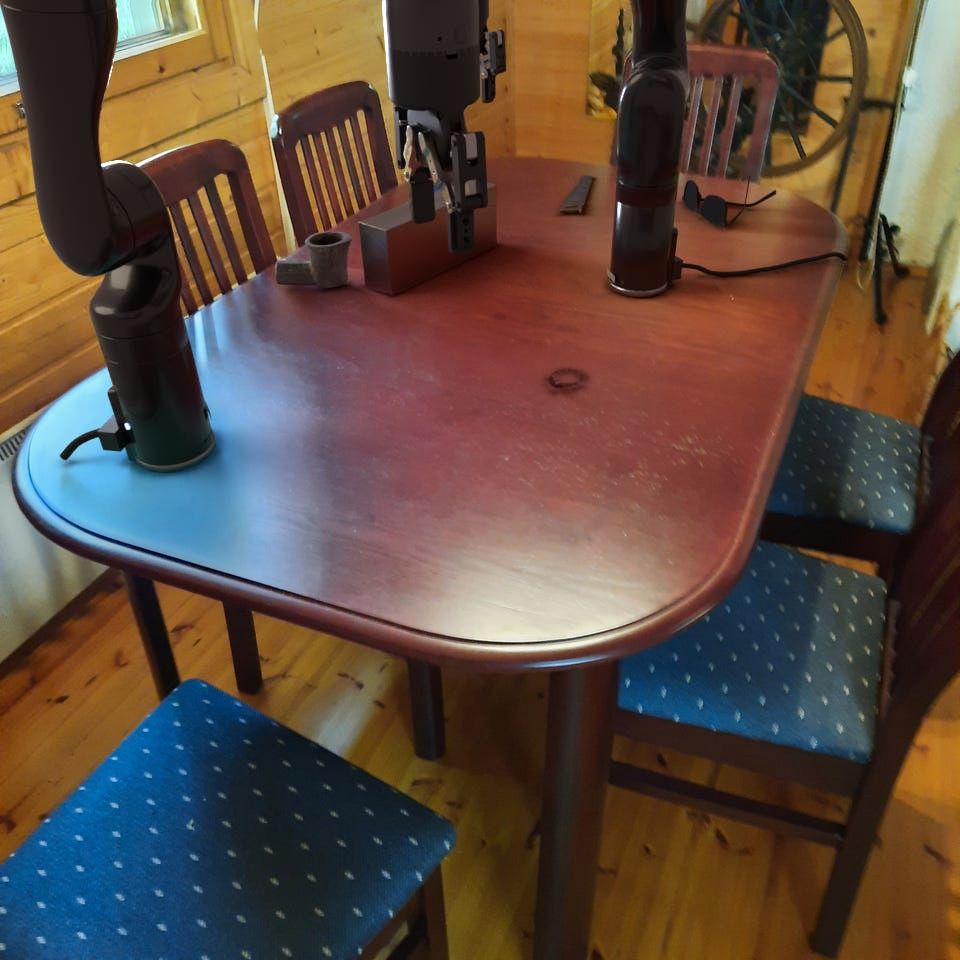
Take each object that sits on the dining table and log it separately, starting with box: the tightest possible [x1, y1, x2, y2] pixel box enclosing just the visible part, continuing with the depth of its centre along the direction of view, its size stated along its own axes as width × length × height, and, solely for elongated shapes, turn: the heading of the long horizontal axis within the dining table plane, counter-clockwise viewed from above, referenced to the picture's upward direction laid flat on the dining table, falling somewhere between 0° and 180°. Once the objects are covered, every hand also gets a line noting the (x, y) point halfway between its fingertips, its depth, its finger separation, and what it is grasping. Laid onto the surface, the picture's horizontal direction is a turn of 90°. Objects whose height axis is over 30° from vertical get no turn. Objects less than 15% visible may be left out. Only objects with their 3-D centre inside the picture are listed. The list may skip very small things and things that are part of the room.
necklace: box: [548, 368, 584, 389], centre depth 114 cm, size 4×6×1 cm, turn 151°
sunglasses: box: [681, 175, 777, 228], centre depth 163 cm, size 17×14×5 cm
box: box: [358, 180, 498, 297], centre depth 144 cm, size 27×6×11 cm, turn 140°
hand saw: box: [558, 175, 594, 215], centre depth 174 cm, size 24×5×1 cm, turn 168°
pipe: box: [274, 230, 352, 289], centre depth 138 cm, size 6×13×8 cm, turn 95°
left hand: (442, 236), depth 78 cm, fingers open, 8 cm apart
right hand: (467, 99), depth 139 cm, fingers open, 8 cm apart
